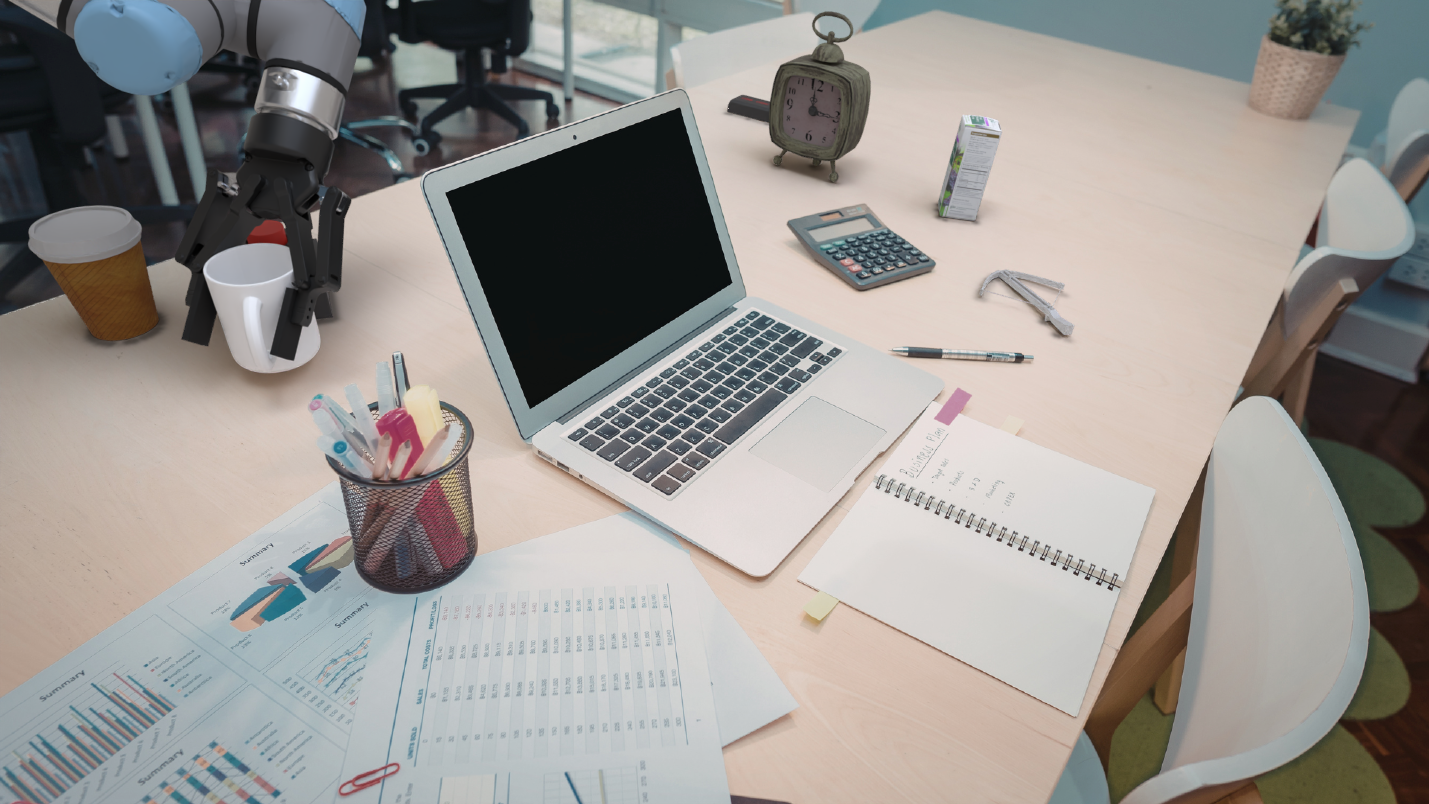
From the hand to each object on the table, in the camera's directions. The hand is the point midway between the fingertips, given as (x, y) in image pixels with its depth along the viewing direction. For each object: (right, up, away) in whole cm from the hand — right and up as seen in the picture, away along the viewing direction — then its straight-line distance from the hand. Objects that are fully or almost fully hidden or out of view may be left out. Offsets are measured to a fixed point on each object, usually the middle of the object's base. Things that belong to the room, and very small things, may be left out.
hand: (238, 350), depth 77 cm
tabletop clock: (+62, +35, +62) cm, 95 cm away
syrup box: (+84, +25, +52) cm, 102 cm away
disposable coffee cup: (-19, +3, +11) cm, 22 cm away
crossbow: (+87, +8, +30) cm, 93 cm away
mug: (+1, -1, +5) cm, 5 cm away
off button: (-6, +13, +16) cm, 22 cm away
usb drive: (+54, +51, +83) cm, 112 cm away
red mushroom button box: (-5, +7, +18) cm, 20 cm away
